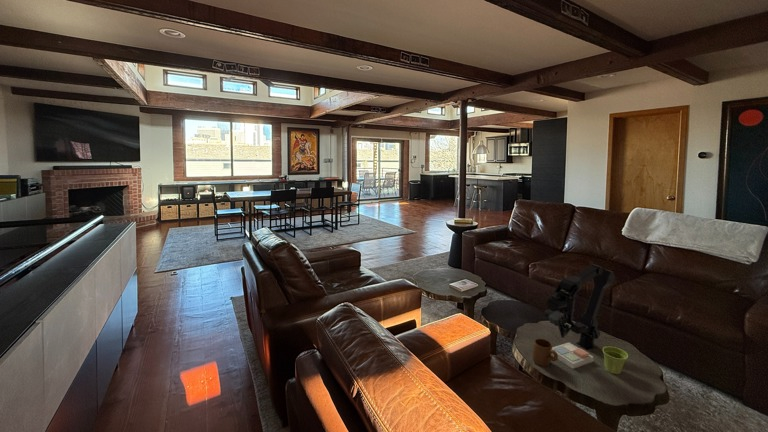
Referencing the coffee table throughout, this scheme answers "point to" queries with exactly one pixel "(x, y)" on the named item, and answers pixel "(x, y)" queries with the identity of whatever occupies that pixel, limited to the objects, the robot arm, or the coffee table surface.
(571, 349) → the key cream
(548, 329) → the coffee table surface
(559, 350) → the key slate
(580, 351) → the key coral
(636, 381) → the coffee table surface
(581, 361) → the keypad
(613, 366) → the plant pot
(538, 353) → the mug
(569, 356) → the key sage
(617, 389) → the coffee table surface
